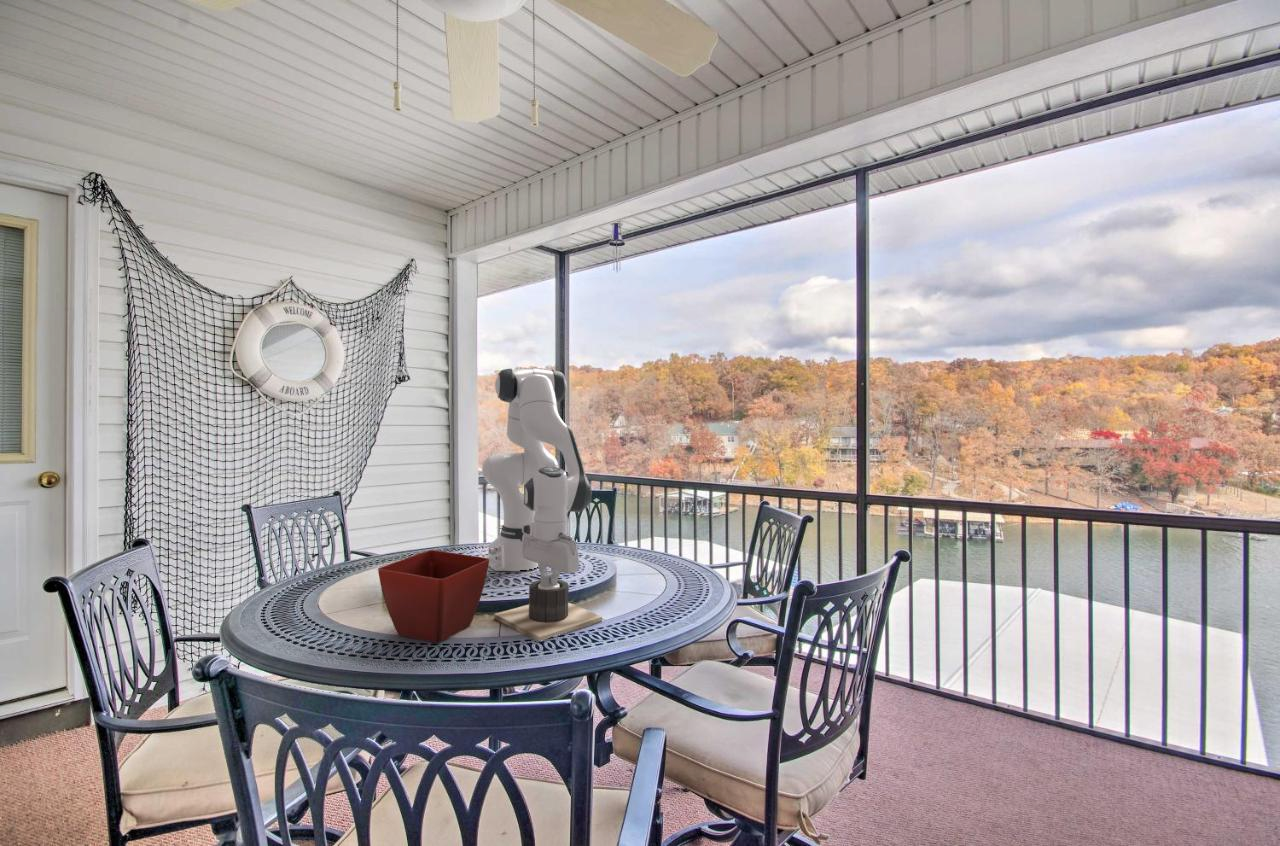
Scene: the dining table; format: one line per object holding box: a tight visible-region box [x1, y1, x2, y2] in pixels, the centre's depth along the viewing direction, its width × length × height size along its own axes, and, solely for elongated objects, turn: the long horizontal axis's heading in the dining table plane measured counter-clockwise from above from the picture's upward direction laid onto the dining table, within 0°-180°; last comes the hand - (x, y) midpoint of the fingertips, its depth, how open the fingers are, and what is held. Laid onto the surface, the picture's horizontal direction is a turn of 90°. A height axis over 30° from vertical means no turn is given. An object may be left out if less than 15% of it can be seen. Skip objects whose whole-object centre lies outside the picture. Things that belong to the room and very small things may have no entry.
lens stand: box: [493, 579, 603, 642], centre depth 153 cm, size 20×20×9 cm
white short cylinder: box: [538, 571, 560, 590], centre depth 153 cm, size 6×6×5 cm
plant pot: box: [377, 549, 489, 644], centre depth 144 cm, size 19×19×17 cm
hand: (549, 582), depth 153 cm, fingers closed on white short cylinder, 2 cm apart
